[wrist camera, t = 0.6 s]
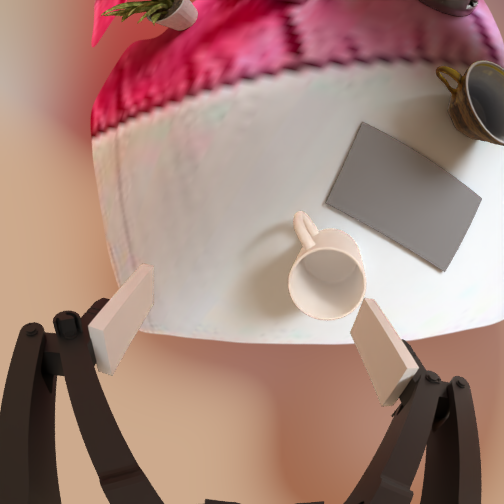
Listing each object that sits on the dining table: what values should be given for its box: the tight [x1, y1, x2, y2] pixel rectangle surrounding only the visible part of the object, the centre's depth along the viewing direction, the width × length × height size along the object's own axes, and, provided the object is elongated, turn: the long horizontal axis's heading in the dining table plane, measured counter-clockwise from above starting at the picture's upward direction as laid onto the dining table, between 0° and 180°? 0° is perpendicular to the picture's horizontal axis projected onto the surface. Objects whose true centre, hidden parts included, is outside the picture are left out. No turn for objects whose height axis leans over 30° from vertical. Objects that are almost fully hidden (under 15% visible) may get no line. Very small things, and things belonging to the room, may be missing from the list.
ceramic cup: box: [436, 60, 504, 146], centre depth 20 cm, size 13×10×10 cm
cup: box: [288, 211, 366, 320], centre depth 32 cm, size 8×12×10 cm
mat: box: [326, 122, 482, 272], centre depth 31 cm, size 20×12×1 cm, turn 67°
